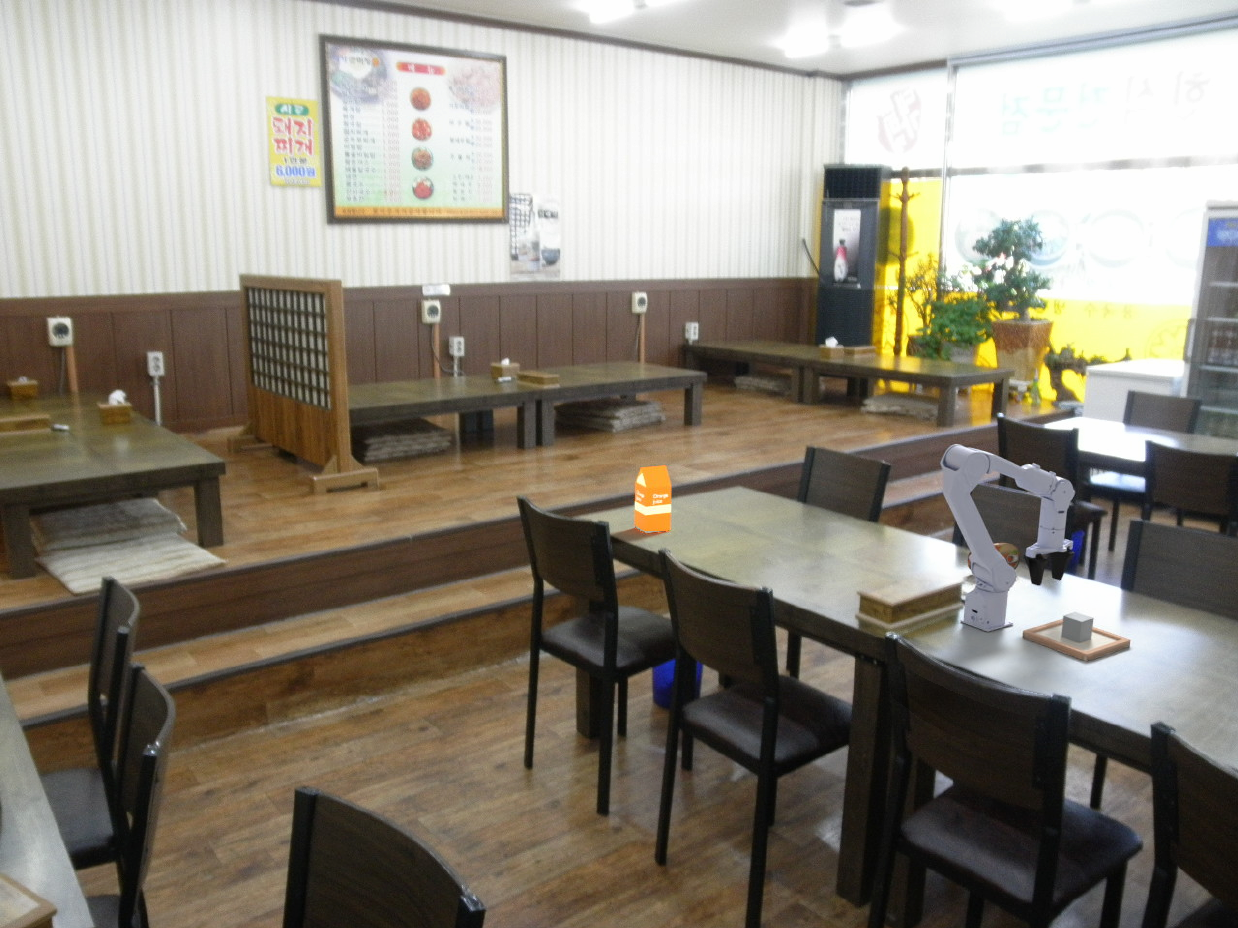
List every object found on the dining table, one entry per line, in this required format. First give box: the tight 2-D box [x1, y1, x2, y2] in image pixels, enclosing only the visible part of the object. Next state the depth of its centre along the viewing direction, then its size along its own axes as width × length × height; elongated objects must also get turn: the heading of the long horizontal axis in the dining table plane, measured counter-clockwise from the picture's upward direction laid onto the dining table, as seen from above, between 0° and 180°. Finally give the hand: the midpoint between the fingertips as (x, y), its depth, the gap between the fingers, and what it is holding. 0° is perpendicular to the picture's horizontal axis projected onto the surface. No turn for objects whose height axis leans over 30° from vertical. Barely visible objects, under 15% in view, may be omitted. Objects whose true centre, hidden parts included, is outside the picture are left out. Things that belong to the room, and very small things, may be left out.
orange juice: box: [634, 465, 672, 532], centre depth 317 cm, size 8×9×20 cm
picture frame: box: [1022, 618, 1131, 662], centre depth 232 cm, size 16×16×2 cm
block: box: [1061, 611, 1094, 643], centre depth 232 cm, size 4×4×5 cm
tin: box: [967, 542, 1021, 571], centre depth 279 cm, size 15×3×8 cm, turn 105°
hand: (1046, 581), depth 245 cm, fingers open, 7 cm apart
